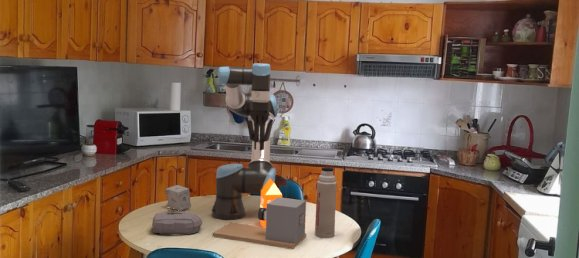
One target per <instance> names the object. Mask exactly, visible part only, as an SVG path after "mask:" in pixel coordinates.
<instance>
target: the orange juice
mask: <svg viewBox="0 0 579 258" xmlns="http://www.w3.org/2000/svg"><path fill="white" fill-rule="evenodd" d="M278 197H280V198H283V194H282V192H281V190H280V191H279V189H278V188H277V186H276V185H275V183H274V182H273V181H272V180H271V179H269V180H268V182H267V183H266V184H265V186H264V187H263V189H262V190H261V194H260V205H259V209H260V208H261V207H262V208H267V203H269V202H271V201H273V200H274V199H276V198H278ZM259 224H260V225H261V227H266V220H265V221H263V220H259Z"/></svg>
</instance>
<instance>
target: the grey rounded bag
mask: <svg viewBox="0 0 579 258" xmlns="http://www.w3.org/2000/svg"><path fill="white" fill-rule="evenodd" d="M151 224H152V225H151V227H152V232H153V234H155V233H161V234H160V235H162V234H185V235H191V234H195V233H198V232H200V231H201V228H202V225H203V221H202V218H201V217H200V216H199V215H198V214H196V213H195V212H191V211H186V210H182V211H177V210H174V209H172V210H167V211H161V212H158V213H155V214H154V216H153V218H152V223H151Z"/></svg>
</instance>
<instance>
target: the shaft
mask: <svg viewBox="0 0 579 258" xmlns="http://www.w3.org/2000/svg"><path fill="white" fill-rule="evenodd" d="M266 210H267V208H262V207H261V208H260V207H259V210H258V213H257V218H258V220H259V221H260V220H263V221H265V220H266ZM304 216H305V215H302V214H301V215H299V224H303V223H304ZM305 217H306V216H305Z"/></svg>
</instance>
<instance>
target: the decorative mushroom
mask: <svg viewBox="0 0 579 258" xmlns="http://www.w3.org/2000/svg"><path fill="white" fill-rule="evenodd" d="M274 183H275V185H276V186H277V188H278V189H279V191H280V192H281V190H280V187H284V186H287V185H288V182H287V179H285V178H284V177H283V176H281V175H279V174H276V175H275V182H274Z"/></svg>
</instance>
